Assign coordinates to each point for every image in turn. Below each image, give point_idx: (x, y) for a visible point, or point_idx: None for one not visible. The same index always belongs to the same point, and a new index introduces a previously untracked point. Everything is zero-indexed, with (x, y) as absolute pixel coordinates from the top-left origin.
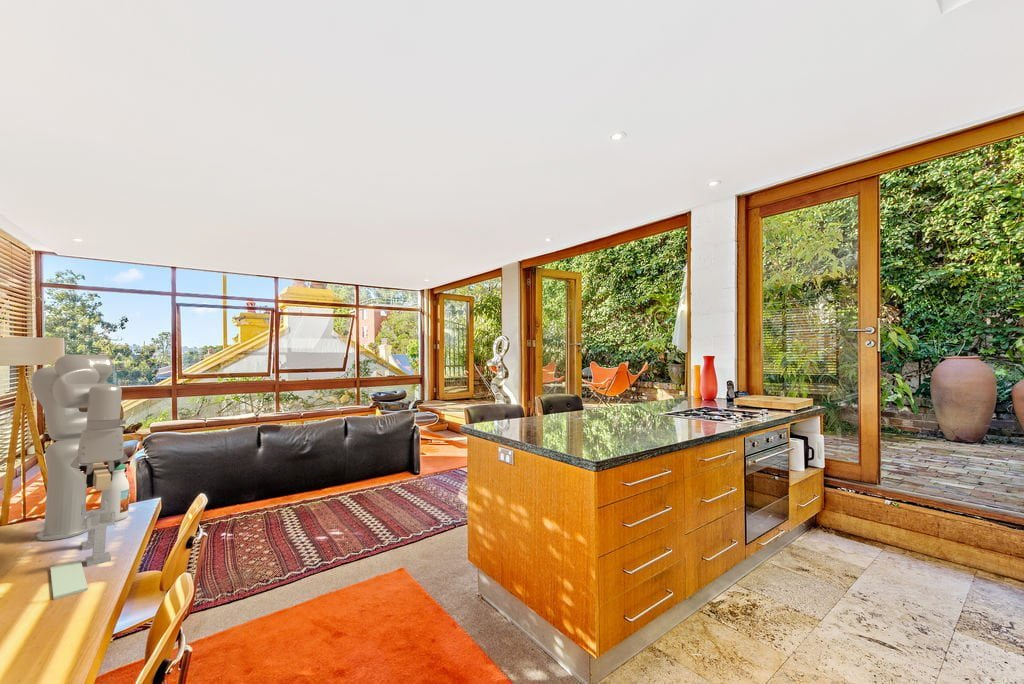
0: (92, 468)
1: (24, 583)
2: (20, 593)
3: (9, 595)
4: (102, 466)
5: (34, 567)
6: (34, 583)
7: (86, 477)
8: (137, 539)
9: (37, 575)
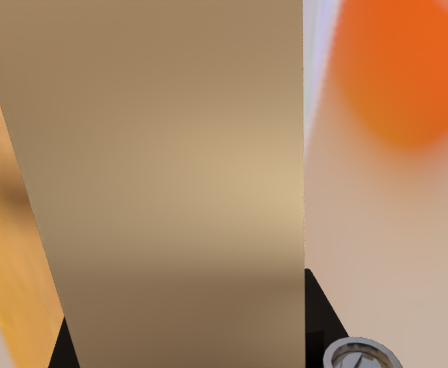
0: (80, 360)
1: (19, 288)
2: (33, 353)
3: (10, 351)
4: (252, 284)
5: (2, 153)
6: (48, 304)
7: (52, 362)
8: (312, 56)
9: (37, 243)
